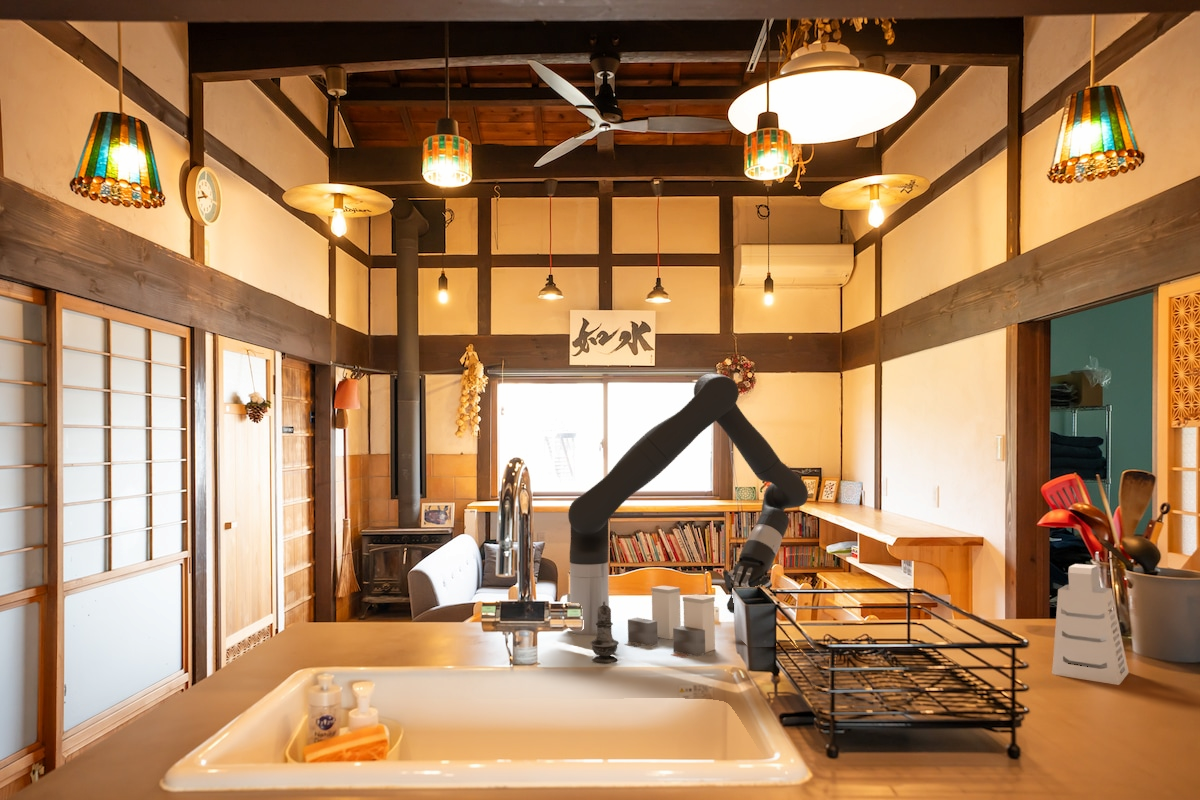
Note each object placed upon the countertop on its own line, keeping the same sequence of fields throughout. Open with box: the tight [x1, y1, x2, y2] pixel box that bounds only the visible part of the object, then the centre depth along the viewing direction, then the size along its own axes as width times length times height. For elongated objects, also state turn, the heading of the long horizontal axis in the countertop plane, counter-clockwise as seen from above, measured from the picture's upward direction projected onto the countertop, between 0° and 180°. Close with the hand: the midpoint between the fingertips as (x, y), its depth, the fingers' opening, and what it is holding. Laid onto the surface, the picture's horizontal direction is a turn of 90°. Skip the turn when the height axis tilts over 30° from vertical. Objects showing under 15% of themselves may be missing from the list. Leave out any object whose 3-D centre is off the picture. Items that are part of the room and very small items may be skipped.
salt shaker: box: [590, 601, 620, 665], centre depth 154 cm, size 6×6×12 cm
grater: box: [1051, 563, 1130, 686], centre depth 141 cm, size 10×10×20 cm
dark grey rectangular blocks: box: [624, 617, 706, 658], centre depth 163 cm, size 25×20×6 cm
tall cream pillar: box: [650, 585, 682, 640], centre depth 170 cm, size 5×4×11 cm
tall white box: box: [682, 593, 716, 653], centre depth 157 cm, size 5×4×11 cm
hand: (731, 611), depth 167 cm, fingers closed
